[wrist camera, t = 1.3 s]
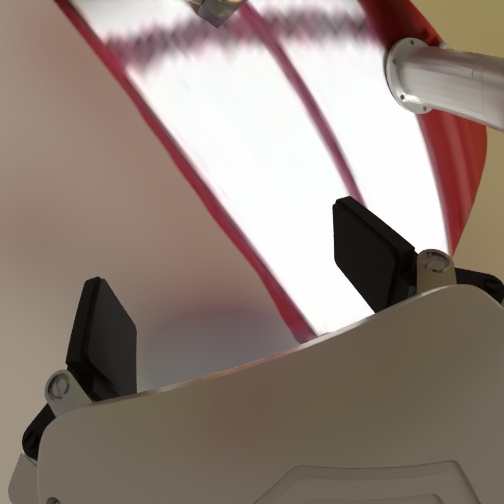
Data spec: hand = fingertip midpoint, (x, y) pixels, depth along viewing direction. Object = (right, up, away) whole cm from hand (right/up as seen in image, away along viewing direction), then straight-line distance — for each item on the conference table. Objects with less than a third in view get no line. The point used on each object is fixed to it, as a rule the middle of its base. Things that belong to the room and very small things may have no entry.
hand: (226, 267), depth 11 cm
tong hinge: (-2, +28, +11) cm, 30 cm away
